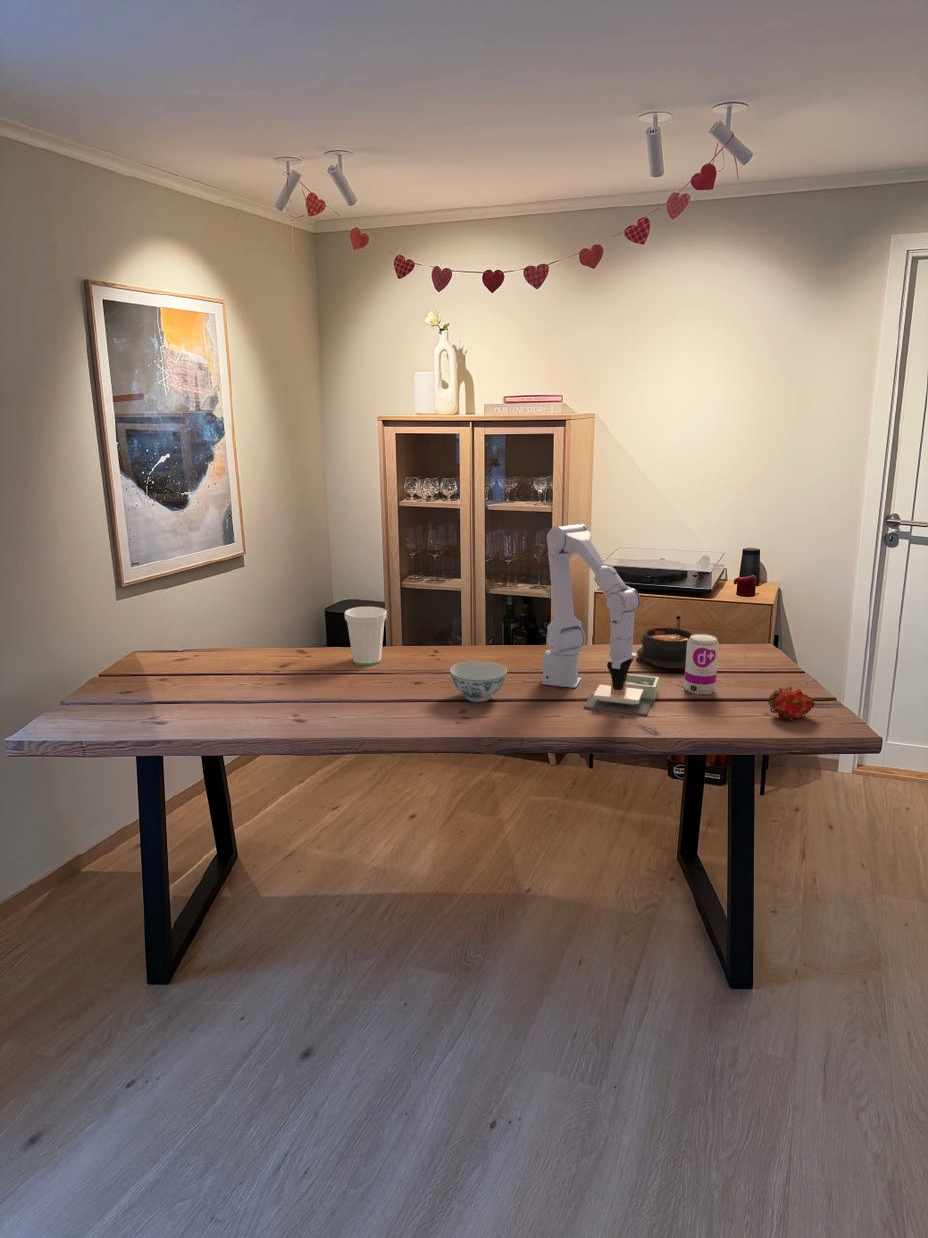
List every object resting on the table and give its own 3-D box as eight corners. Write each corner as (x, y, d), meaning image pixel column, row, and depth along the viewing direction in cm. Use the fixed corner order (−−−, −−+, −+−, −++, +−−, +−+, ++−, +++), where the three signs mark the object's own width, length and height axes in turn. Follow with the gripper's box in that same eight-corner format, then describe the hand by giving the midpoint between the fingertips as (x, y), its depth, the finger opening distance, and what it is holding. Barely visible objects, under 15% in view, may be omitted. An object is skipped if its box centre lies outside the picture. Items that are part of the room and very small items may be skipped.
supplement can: (716, 696, 229) (720, 642, 225) (684, 694, 231) (688, 641, 227) (713, 686, 237) (718, 634, 233) (683, 684, 239) (686, 632, 235)
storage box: (612, 696, 229) (613, 682, 228) (617, 686, 237) (618, 672, 236) (654, 701, 226) (655, 686, 225) (658, 691, 233) (658, 677, 232)
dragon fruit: (761, 721, 217) (807, 728, 217) (776, 713, 209) (824, 719, 209) (760, 689, 220) (806, 695, 220) (775, 680, 212) (822, 686, 213)
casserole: (630, 648, 271) (631, 622, 269) (689, 648, 271) (691, 623, 268) (643, 674, 247) (645, 646, 245) (708, 674, 247) (711, 646, 244)
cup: (352, 653, 265) (350, 605, 261) (392, 655, 263) (390, 607, 259) (341, 666, 253) (339, 616, 249) (382, 668, 251) (381, 618, 247)
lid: (593, 701, 221) (594, 685, 219) (599, 690, 228) (600, 675, 227) (638, 707, 217) (639, 691, 216) (642, 695, 225) (643, 680, 223)
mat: (583, 708, 221) (583, 706, 221) (591, 695, 230) (591, 693, 230) (646, 715, 216) (646, 714, 216) (651, 702, 225) (652, 700, 225)
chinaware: (480, 712, 218) (481, 683, 216) (438, 697, 228) (438, 670, 226) (518, 696, 229) (518, 669, 227) (476, 683, 239) (476, 657, 237)
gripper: (633, 646, 210) (630, 698, 214) (641, 630, 223) (638, 679, 227) (604, 643, 212) (602, 694, 216) (614, 627, 226) (612, 676, 229)
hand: (619, 687), depth 222 cm, fingers closed on lid, 3 cm apart
